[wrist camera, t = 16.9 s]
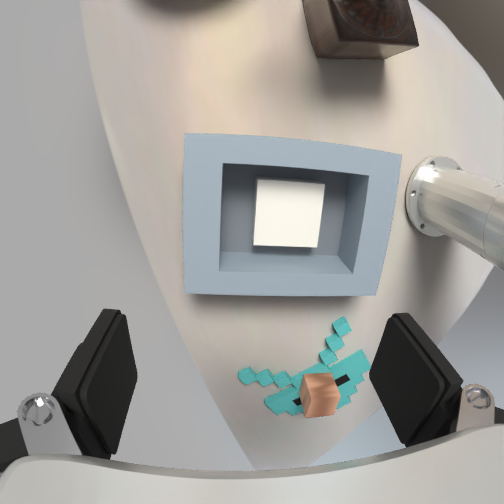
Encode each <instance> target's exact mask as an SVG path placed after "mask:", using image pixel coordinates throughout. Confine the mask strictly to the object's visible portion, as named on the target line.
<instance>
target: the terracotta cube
mask: <svg viewBox="0 0 504 504" xmlns="http://www.w3.org/2000/svg"><path fill="white" fill-rule="evenodd" d="M299 395H300V399H301V403H302V407H303V410H304V414H305V418H310V417H320V416H329V415H334V412H335V410H336V407H337V405H338V402H339V400H340V397H341V396H340V393H339V390H338V388H337V385H336V383H335V380H334V378H333V376H332V373H331V372H328V373H313V374H304V375H303V379H302V383H301V387H300V391H299Z"/></svg>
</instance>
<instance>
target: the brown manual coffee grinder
mask: <svg viewBox="0 0 504 504" xmlns="http://www.w3.org/2000/svg"><path fill="white" fill-rule="evenodd" d="M303 6H304V13H305V17H306V21H307V26H308V30H309V35H310V39H311V42H312V45H313V47H314V50H315V53H316V56H317V57H318V58H326V59H387V58H389V57H391V56H393V55H396V54H399V53H401V52H404V51H407V50H410V49H412V48H416V47H418V46H419V43H418V38H417V32H416V28H415V25H414V21H413V17H412V13H411V10H410V6H409V3H408V0H303Z"/></svg>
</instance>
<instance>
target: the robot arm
mask: <svg viewBox="0 0 504 504" xmlns="http://www.w3.org/2000/svg"><path fill="white" fill-rule="evenodd" d="M411 192H412V193H411ZM406 208H407V212H408V216H409V218H410V220H411V222H412V224H413V225H414V226H415V228H417V229H418V230H419V231H420V232H422V233H424V234H425V235H428V236H432V237H438V236H442V235H447V236H449V237H450V238H452V239H454V240H455V241H457V242H459V243H460V244H462V245H464V246H465V247H467V248H469V249H470V250H472V251H473V252H475V253H477V254H478V255H480V256H481V257H483V258H484V259H486V260H488V261H489V262H491V263H492V264H494V265H495V266H497V267H498V268H500V269H502V270H504V183H501V182H498V181H495V180H491V179H488V178H485V177H481V176H478V175H474V174H471V173H467V172H464V171H463V170H462V168H461V167H460V165H459V164H458V163H457V162H456V161H454V160H453V159H451V158H449V157H445V156H432V157H429V158H427V159H425V160H423V161H422V162H421V163H420V164H419V165H418V166H417V167H416V169H415V170H414V171H413V173H412V175H411V177H410V180H409V183H408V186H407V191H406ZM369 377H370V380H371V382H372V384H373V386H374V388H375V390H376V392H377V394H378V396H379V398H380V400H381V402H382V405H383V407H384V409H385V411H386V413H387V415H388V417H389V419H390V421H391V423H392V425H393V427H394V429H395V432H396V434H397V436H398V438H399V440H400V442H401V443H402V444H405V446H406V448H404V449H400V450H396V451H392V452H388V453H384V454H380V455H375V456H371V457H367V458H361V459H356V460H351V461H345V462H340V463H333V464H327V465H320V466H312V467H303V468H293V469H281V470H264V471H203V470H186V469H174V468H164V467H155V466H146V465H139V464H132V463H126V462H119V461H114V460H110V457H111V454H116V452H117V449H118V445H119V441H120V438H121V434H122V430H123V427H124V423H125V419H126V416H127V412H128V409H129V405H130V402H131V399H132V395H133V392H134V389H135V385H136V382H137V369H136V365H135V360H134V355H133V350H132V346H131V341H130V335H129V330H128V325H127V319H126V316H125V315H124V314H121V311H120V310H114V309H103V310H102V312H101V314H100V315H99V317H98V318H97V320H96V322H95V323H94V325H93V326H92V328H91V330H90V331H89V333H88V335H87V337H86V338H85V340H84V342H83V343H81V344H80V345H79V346H78V347H77V349H76V351H75V352H74V354H73V356H72V357H71V359H70V361H69V363H68V365H67V366H66V368H65V370H64V372H63V373H62V375H61V377H60V379H59V381H58V382H57V385H56V386H55V388H54V390H53V392H52V394H51V395H49V394H46V393H36V394H32V395H30V396H28V397H26V398H25V399H24V400H23V401H22V402H21V404H20V405H19V408H18V411H17V412H18V418H16V419H13V420H10V421H8V422H5V423H3V424H0V504H504V410H503V409H500V408H497V407H495V402H494V397H493V395H492V394H491V393H490V391H489V390H488V389H486V388H485V387H483V386H481V385H478V384H469V385H467V386H465V387H464V388H463V389H462V388H461V384H462V383H463V380H462V378H461V377H460V376H459V374H458V373H457V372H456V370H455V369H454V368H453V367H452V365H451V364H450V363H449V362H448V360H447V359H446V358H445V356H444V355H443V354H442V353H441V351H440V350H439V349H438V348H437V346H436V345H435V344H434V343H433V342H432V340H431V339H430V338H429V337H428V336H427V334H426V333H425V332H424V331H423V330H422V328H421V327H420V326H419V325H418V324H417V322H416V321H415V320H414V319H413V318H412V317H411V315H410V314H408V313H395V314H393V315H392V316H391V318H389V319H388V321H387V324H386V327H385V330H384V333H383V336H382V339H381V341H380V344H379V347H378V350H377V353H376V355H375V358H374V361H373V364H372V366H371V369H370V372H369Z"/></svg>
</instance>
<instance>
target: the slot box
mask: <svg viewBox="0 0 504 504" xmlns="http://www.w3.org/2000/svg"><path fill="white" fill-rule="evenodd" d="M401 159H402V155H400V154H395V153H390V152H384V151H379V150H373V149H367V148H361V147H355V146H349V145H342V144H334V143H327V142H319V141H310V140H301V139H291V138H280V137H268V136H253V135H234V134H196V133H185V137H184V166H183V258H184V288H185V293H191V294H218V295H254V296H375V295H376V292H377V289H378V285H379V281H380V277H381V272H382V268H383V264H384V259H385V255H386V250H387V245H388V241H389V236H390V231H391V225H392V220H393V214H394V208H395V202H396V196H397V189H398V183H399V175H400V167H401Z"/></svg>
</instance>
